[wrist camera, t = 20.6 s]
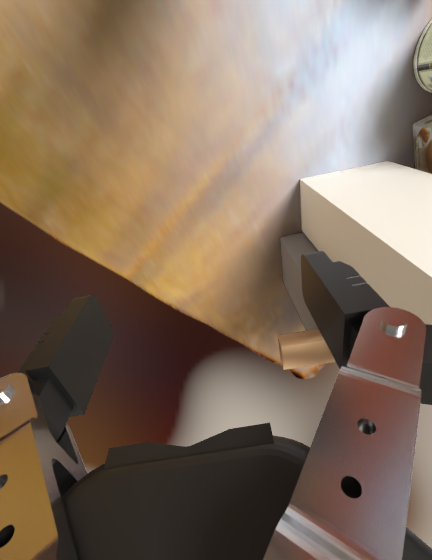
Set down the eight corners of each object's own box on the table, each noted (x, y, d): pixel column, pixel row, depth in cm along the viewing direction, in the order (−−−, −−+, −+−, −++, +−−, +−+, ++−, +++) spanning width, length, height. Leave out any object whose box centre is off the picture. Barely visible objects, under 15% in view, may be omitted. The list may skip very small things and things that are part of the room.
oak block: (275, 324, 35) (281, 341, 32) (472, 290, 33) (495, 305, 30) (280, 362, 39) (285, 380, 36) (458, 334, 37) (476, 351, 34)
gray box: (279, 237, 51) (322, 307, 34) (363, 220, 50) (453, 283, 33) (283, 282, 57) (321, 364, 39) (359, 268, 56) (434, 345, 38)
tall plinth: (299, 179, 46) (442, 285, 19) (387, 160, 45) (668, 244, 18) (301, 230, 51) (418, 373, 24) (381, 214, 50) (596, 344, 23)
